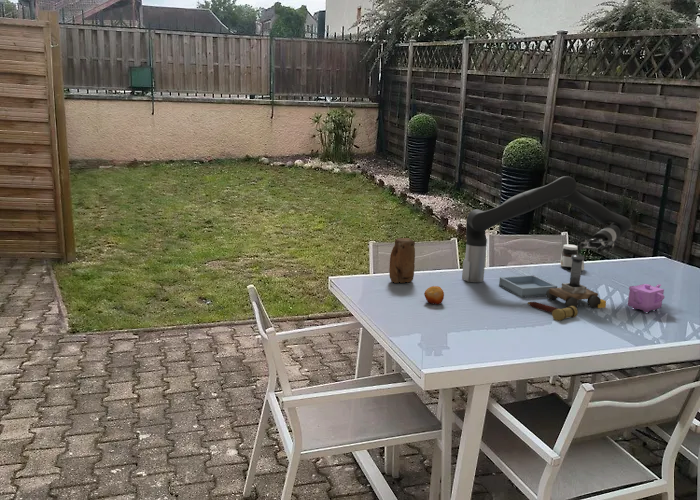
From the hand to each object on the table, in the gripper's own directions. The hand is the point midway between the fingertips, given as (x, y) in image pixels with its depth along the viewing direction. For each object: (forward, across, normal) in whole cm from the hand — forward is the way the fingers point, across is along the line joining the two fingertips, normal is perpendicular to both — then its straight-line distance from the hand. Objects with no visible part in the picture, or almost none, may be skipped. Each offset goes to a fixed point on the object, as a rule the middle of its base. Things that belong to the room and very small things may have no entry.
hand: (588, 249), depth 269 cm
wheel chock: (+7, +8, +22) cm, 24 cm away
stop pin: (+12, -2, +15) cm, 19 cm away
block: (+43, -70, +11) cm, 82 cm away
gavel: (+31, -4, +18) cm, 36 cm away
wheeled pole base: (+12, -2, +20) cm, 24 cm away
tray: (+10, -24, +19) cm, 32 cm away
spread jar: (-43, -28, +28) cm, 59 cm away
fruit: (+57, -41, +10) cm, 71 cm away
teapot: (-3, +22, +25) cm, 33 cm away
